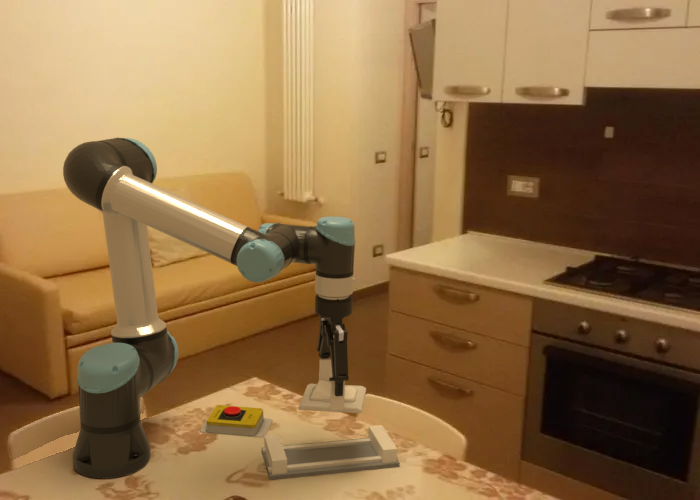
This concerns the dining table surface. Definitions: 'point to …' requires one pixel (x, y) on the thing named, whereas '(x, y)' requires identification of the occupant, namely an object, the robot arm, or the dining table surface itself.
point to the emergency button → (237, 421)
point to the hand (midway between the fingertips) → (330, 398)
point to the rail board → (329, 455)
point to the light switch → (322, 398)
